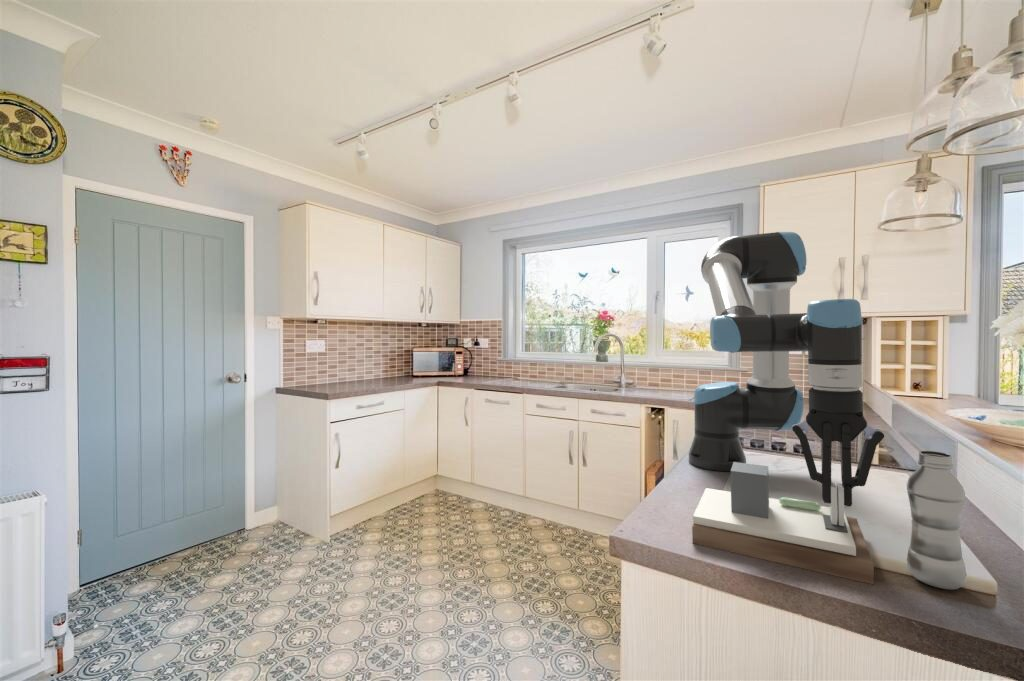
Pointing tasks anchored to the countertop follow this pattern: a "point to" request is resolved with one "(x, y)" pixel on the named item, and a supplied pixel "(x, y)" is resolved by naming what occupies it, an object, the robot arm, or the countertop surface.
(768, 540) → the walnut base
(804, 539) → the plate
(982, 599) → the countertop surface
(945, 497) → the plastic bottle
